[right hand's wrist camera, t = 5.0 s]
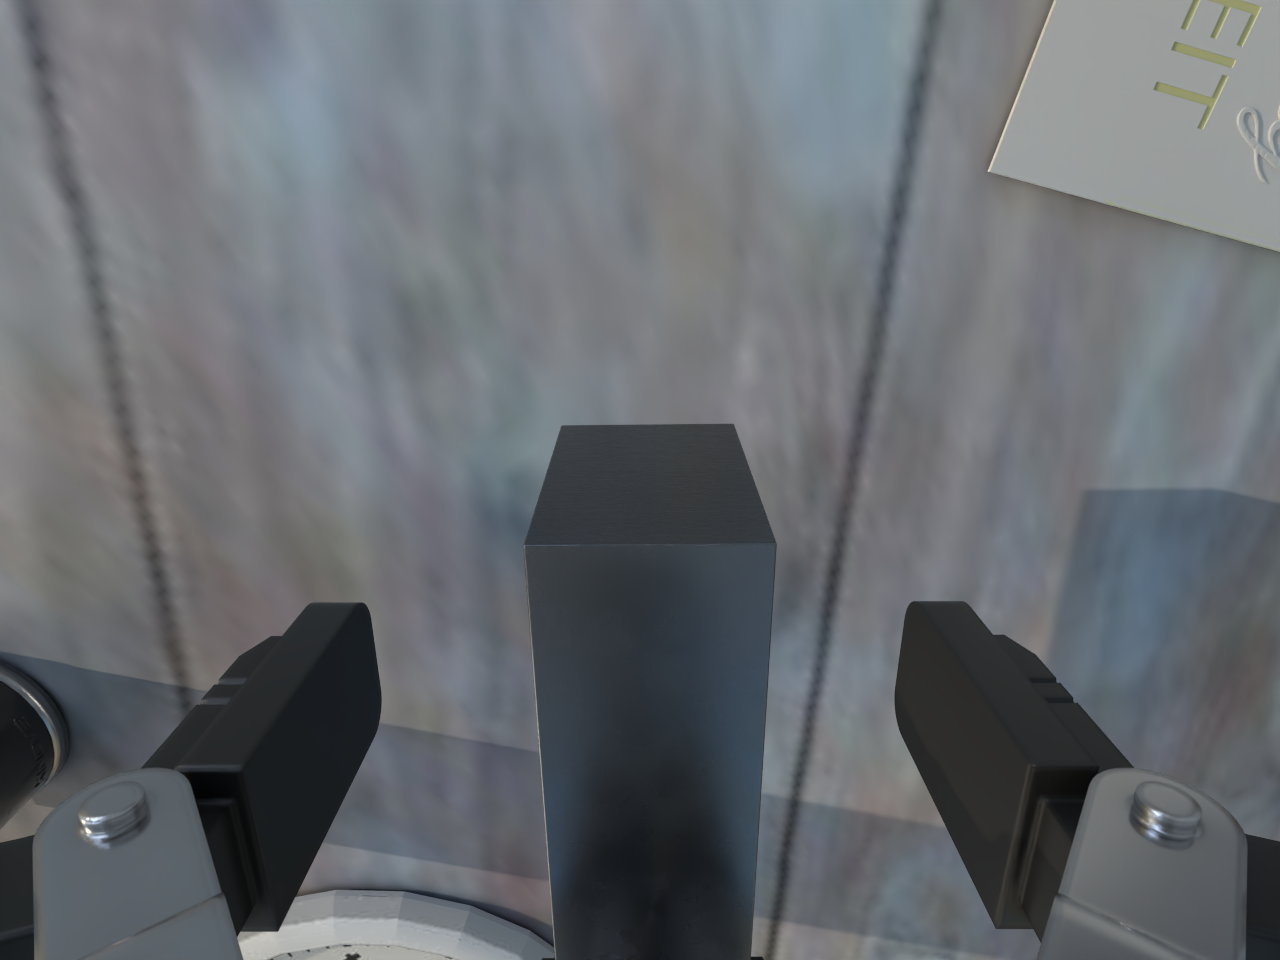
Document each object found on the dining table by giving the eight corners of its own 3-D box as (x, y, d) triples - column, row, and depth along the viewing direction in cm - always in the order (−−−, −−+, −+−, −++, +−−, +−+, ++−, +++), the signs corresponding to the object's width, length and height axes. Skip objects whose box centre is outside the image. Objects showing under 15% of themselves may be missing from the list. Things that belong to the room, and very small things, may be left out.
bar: (561, 425, 27) (522, 545, 18) (733, 423, 26) (777, 543, 18) (587, 915, 36) (569, 1149, 27) (716, 915, 36) (739, 1149, 27)
